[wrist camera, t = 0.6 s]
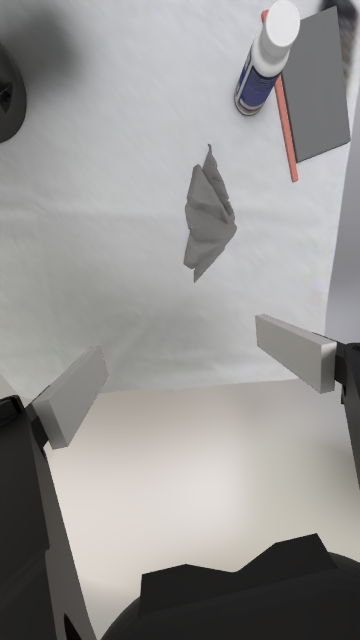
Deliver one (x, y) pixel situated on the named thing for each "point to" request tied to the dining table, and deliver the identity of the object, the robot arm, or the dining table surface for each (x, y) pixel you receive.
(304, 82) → the mat
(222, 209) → the cloth
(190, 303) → the dining table surface
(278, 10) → the pill bottle
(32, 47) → the dining table surface
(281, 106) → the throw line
